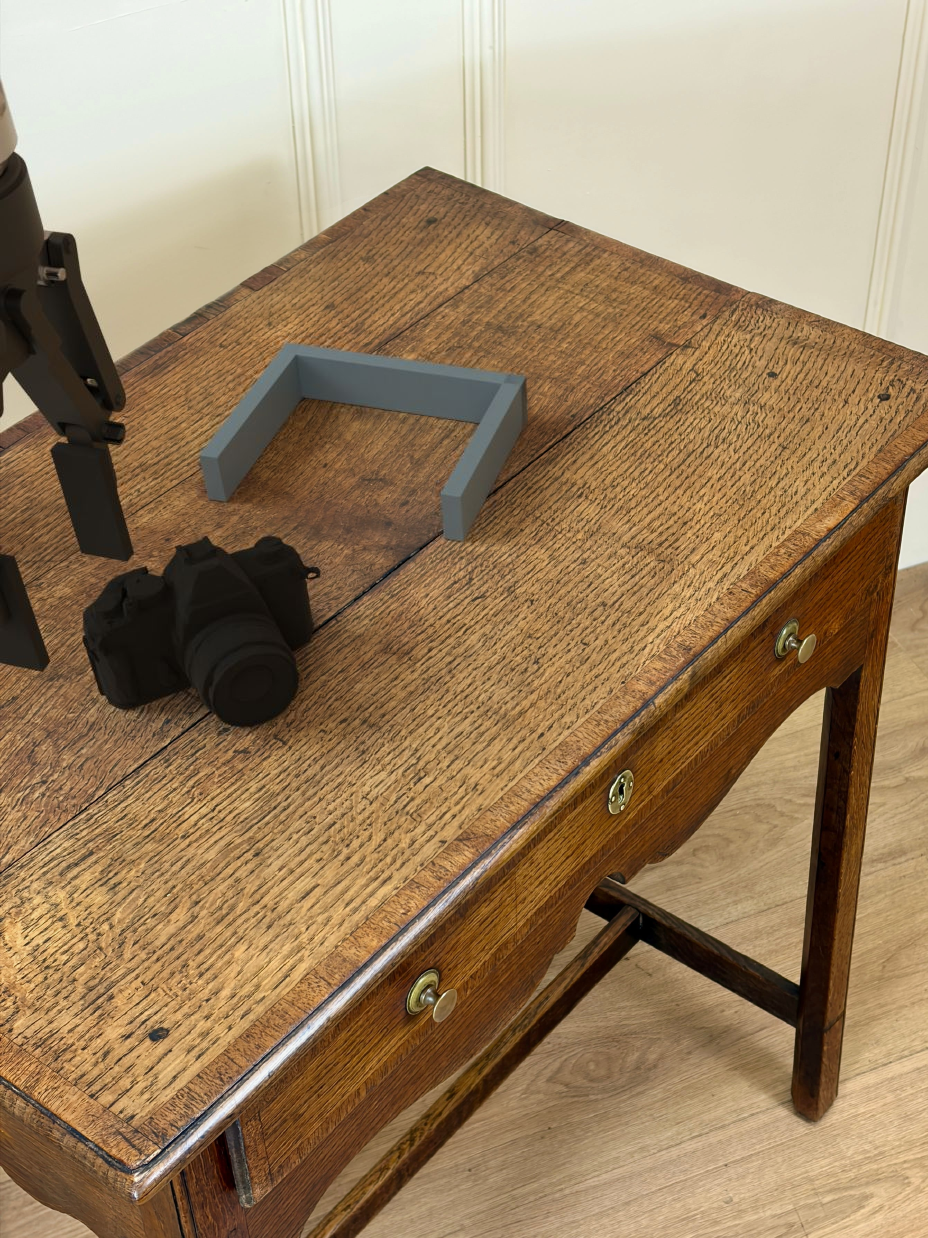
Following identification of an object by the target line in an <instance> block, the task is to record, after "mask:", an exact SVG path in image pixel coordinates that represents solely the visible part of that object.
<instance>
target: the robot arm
mask: <svg viewBox="0 0 928 1238" xmlns="http://www.w3.org/2000/svg"><path fill="white" fill-rule="evenodd" d="M18 137H19V136H18V133H17V129H16V126H15V123H14V119H13V116H12V112H11V109H10V105H9V101H8V99H7V95H6V91H5V87H4V84H3V81H2V77H1V76H0V419H1V418H2V417H3V415H4V411H5V404H4V383H5V380H6V379H7V377H8V375H9V374H11V376H12V377H13V379H14V380H15V381H16V382H17V384H18V385H19V386H20V387H21V389H22V390H23V392H24V393H25V394H26V395H27V396H28V398H29V399H30V401H32V403H33V404H34V405H35V407H36V408H37V409H38V411H39V412H40V413H41V414H42V416H43V418H45V420H46V421H47V422H48V424H49V425H50V426H51V427H52V429H53V430H54V432H55V433H56V434H57V435H58V436H59V437H62V438H66V440H67V442H63V441H57V442H56V443H55V444H54V445H53V446H52V447H51V448H50V449H49V452H50V455H51V458H52V462H53V465H54V468H55V472H56V475H57V479H58V482H59V485H60V488H61V492H62V495H63V499H64V502H65V506H66V509H67V511H68V514H69V518H70V521H71V524H72V528H73V531H74V534H75V538H76V541H77V545H78V548H79V551H80V554H82V555H87V556H92V557H97V558H98V557H99V558H104V559H110V560H116V561H121V562H126V563H127V562H129V560H130V559H131V558H132V557H133V555H134V554H135V550H134V548H133V543H132V539H131V536H130V532H129V529H128V525H127V522H126V518H125V513H124V510H123V507H122V503H121V499H120V495H119V491H118V477H117V472H116V469H115V465H114V462H113V458H112V454H111V451H110V446H109V445H113V446H121V445H122V444H123V443H124V441H125V438H126V433H127V429H126V425H125V423H124V422H119V421H113V420H111V417H112V414H113V412H114V413H121V412H122V411H123V410H124V409H125V407H126V403H127V395H126V391H125V388H124V385H123V383H122V380H121V378H120V375H119V373H118V370H117V367H116V365H115V362H114V360H113V357H112V354H111V351H110V350H109V347H108V344H107V341H106V339H105V336H104V334H103V331H102V328H101V326H100V323H99V321H98V319H97V315H96V313H95V310H94V308H93V306H92V302H91V300H90V297H89V295H88V293H87V289H86V287H85V285H84V282H83V280H82V273H81V272H82V271H81V266H80V259H79V258H80V257H79V252H78V245H77V240H76V238H75V236H74V235H73V234H72V233H70V232H61V231H54V230H45V229H44V225H43V220H42V217H41V213H40V211H39V207H38V202H37V200H36V199H37V198H36V195H35V192H34V188H33V185H32V180H31V177H30V173H29V169H28V166H27V163H26V161H25V159H24V157H22V156H21V155H20V154H19V153H18V152H16V151H15V150H16V147H17V145H18V139H19V138H18ZM89 380H93V381H95V383H90V382H89ZM17 562H18V561H17V560H16V557H15V555H12V554H11V555H10V554H5V553H0V664H1V665H6V666H11V667H16V668H21V669H26V670H32V671H36V672H42V673H43V672H44V671H45V670H46V669H47V667H48V666H49V665H50V663H51V659H50V655H49V653H48V650H47V647H46V644H45V641H44V638H43V635H42V632H41V629H40V627H39V624H38V621H37V617H36V615H35V611H34V608H33V605H32V603H31V600H30V597H29V594H28V592H27V588H26V585H25V583H24V580H23V577H22V574H21V571H20V568H19V565H18V563H17Z"/></svg>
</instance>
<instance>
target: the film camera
mask: <svg viewBox="0 0 928 1238" xmlns="http://www.w3.org/2000/svg"><path fill="white" fill-rule="evenodd" d="M174 548H175V553H174V554H173V556H172V558H171V559H170V560H169V562H168V563H167V564H166V566H165V567H164V569H163V570H162V574H161V575H157V574H154V573H149V572H150V571H149V569H148V566H147V565H146V566H141V567H137V568H135V569H132V570H129V571H127V572H124V573H121V574H119V575H117V576H115V577H113V578H112V579H110V580H109V581H108V582H107V584H106V585H105V587H104V588H103V589H102V590H101V592H100V593H99V595H98V596H97V598H96V599H95V601H94V600H93V602H92V603H91V604H89V605H88V606H87V607H86V608H85V609H84V612H83V614H82V630H83V633H84V634H83V635H82V636H81V637H82V638H81V639H82V640H81V641H82V643H83V644H82V645H83V646H84V648H85V649H86V650H85V651H86V655H87V658H88V661H89V664H90V668H91V671H92V673H93V677H94V680H95V683H96V685H97V690H98V692H99V695H100V696H101V697H105V698H106V701H107V703H108V704H109V705H111V706H113V707H115V708H117V709H119V710H133V709H136V708H138V707H142V706H145V705H147V704H150V703H153V702H155V701H157V700H160V699H163V698H166V697H168V696H170V695H173V694H176V693H179V692H181V691H184V690H186V689H190V688H193V689H194V690H195V691H196V692H197V693H198V695H199V697H200V698H201V701H202V702H203V704H204V705H205V707H206V708H207V709H208V711H210V712H211V713H212V714H213V715H215V716H216V717H217V719H218V720H219V721H221V722H222V723H223V724H225V725H228V726H231V727H235V728H237V727H238V728H253V727H256V726H260V725H263V724H265V723H268V722H270V721H272V720H273V719H276V718H277V717H279V716H280V715H281V714H282V713H284V712H285V711H286V710H287V709H288V708H289V706H290V705H291V703H292V702H293V700H294V698H295V696H296V695H297V693H298V690H299V688H300V683H299V681H300V676H301V674H300V672H299V669H298V666H297V661H296V658H295V656H294V652H293V651H294V650H297V649H300V648H302V647H304V646H306V645H307V644H309V643H310V642H311V640H312V637H313V633H314V625H315V624H314V621H313V616H312V610H311V609H312V608H311V602H310V595H309V591H308V583H307V580H310V581H312V580H317V579H320V578H321V572H322V570H321V569H320V567H318V566H310V567H309V566H307V565H305V564H304V563H303V561H302V558H301V556H300V553H299V552H298V551H297V550H296V549H295V547H294V546H292V545H290V544H287V543H285V542H284V541H283V540H282V538H281V537H278V536H275V535H266V536H263V537H261V538H259V539H258V540H257V541H256V542H255V543H254V545H253V546H250V547H248V548H244V549H243V548H242V549H239V550H237V551H233V552H230V553H229V552H228V551H226V550H225V549H224V548H222V547H221V546H218V545H215V544H213V543H212V541H211V539H210V538H209V536H207V535H204V536H202V537H201V539H199V540H197V541H193V542H190V543H188V544H185V545H182V544H178V545H174ZM310 574H315V575H314V576H310V577H309V575H310Z"/></svg>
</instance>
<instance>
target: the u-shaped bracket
mask: <svg viewBox="0 0 928 1238" xmlns="http://www.w3.org/2000/svg"><path fill="white" fill-rule="evenodd" d="M527 388H528V387H527V376H526V375H523V374H516V373H510V372H509V373H507V372H500V371H492V370H486V369H479V368H471V367H465V366H459V365H450V364H443V363H436V362H430V361H429V362H428V361H421V360H414V359H407V358H406V359H405V358H402V357H401V358H400V357H393V356H385V355H378V354H371V353H364V352H356V351H351V350H350V351H349V350H344V349H335V348H328V347H320V346H314V345H306V344H300V343H292V342H285V344H284V345H283V346H282V348H281V349H280V350H279V351H278V352H277V354H275V357H273V359H272V360H271V361H270V363H269V364H268V365H267V367H266V368H265V369H264V370H263V372H262V373H261V374H260V375H259V376H258V378H257V380H255V382H254V383H253V385H252V386H251V387H250V388H249V389H248V391H247V393H245V395H244V396H243V397H242V398H241V400H240V401H239V402H238V404H237V405H236V406H235V408H234V409H233V410H232V411H231V412H230V414H229V416H227V418H226V419H225V421H224V422H223V423H222V424H221V426H219V428H218V430H216V432H215V433H214V435H213V436H212V437H211V439H210V440H209V441H208V442H207V444H206V445H205V446H204V448H203V449H202V450H201V451H200V453H199V454H198V457H199V462H200V466H201V471H202V475H203V481H204V485H205V489H206V494H207V498H208V500H212V501H217V502H223V503H228V501H229V499H230V498H231V497H232V495H233V494H234V493H235V491H236V490H237V488H238V487H239V486H240V485H241V483H242V482H243V480H244V479H245V478H246V476H247V475H248V473H249V472H250V470H251V469H252V468H253V466H254V465H255V463H257V461H258V459H259V458H260V457H261V455H263V453H264V452H265V450H266V449H267V448H268V446H269V444H270V443H271V442H272V441H273V439H274V438H275V436H276V435H277V434H278V432H279V431H280V430H281V428H282V427H283V425H284V424H285V423H286V421H287V420H288V418H289V417H290V416H291V415H292V413H293V412H294V411H295V409H296V407H297V406H298V405H299V403H300V402H301V400H302V399H303V398H304V399H311V400H318V401H323V402H324V401H325V402H331V403H332V402H333V403H339V404H345V405H352V406H358V407H359V406H360V407H364V408H372V409H378V410H384V411H385V410H386V411H391V412H399V413H406V414H413V415H420V416H425V417H434V418H440V419H446V420H454V421H460V422H465V423H466V422H467V423H474V424H478V426H477V428H476V429H475V431H474V433H473V435H472V437H471V438H470V440H469V443H468V444H467V445H466V448H465V449H464V451H463V453H462V454H461V456H460V458H459V460H458V462H457V463H456V465H455V466H454V469H453V470H452V472H451V474H450V476H449V478H448V479H447V481H446V483H445V484H444V487H443V488H442V490H441V492H440V504H441V515H442V516H441V517H442V527H443V528H442V529H443V539H444V540H450V541H456V542H462V543H463V542H465V540H466V538H467V536H468V535H469V532H470V531H471V529H472V527H473V524H474V523H475V521H476V519H477V517H478V515H479V513H480V512H481V509H482V508H483V505H484V504H485V502H486V500H487V499H488V496H489V494H490V492H491V490H492V489H493V487H494V484H495V483H496V481H497V478H498V477H499V475H500V473H501V471H502V469H503V467H504V466H505V463H506V461H507V459H508V458H509V456H510V454H511V452H512V450H513V448H514V447H515V444H516V443H517V440H518V439H519V437H520V435H521V433H522V431H523V429H524V427H525V425H526V423H527V421H528V393H527V392H528V391H527V390H528V389H527Z"/></svg>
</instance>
